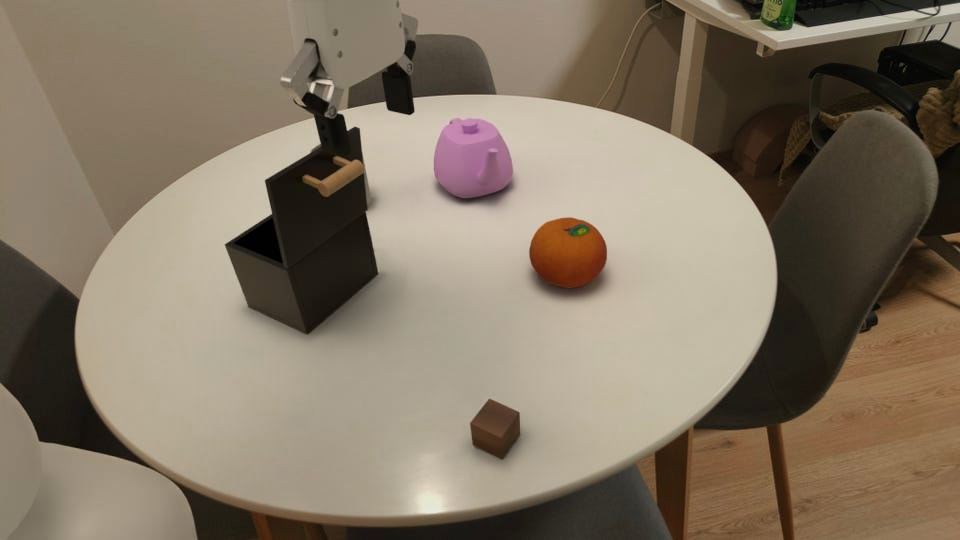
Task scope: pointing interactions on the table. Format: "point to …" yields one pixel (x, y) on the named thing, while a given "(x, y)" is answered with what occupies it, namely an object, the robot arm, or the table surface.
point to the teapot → (472, 158)
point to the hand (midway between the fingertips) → (370, 131)
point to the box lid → (316, 198)
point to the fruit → (568, 252)
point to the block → (495, 428)
